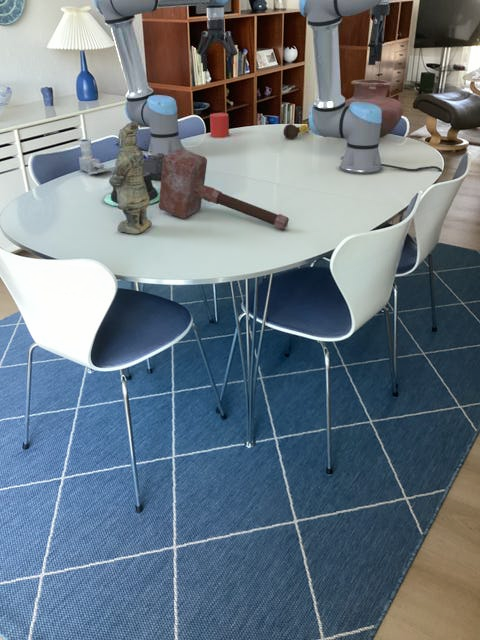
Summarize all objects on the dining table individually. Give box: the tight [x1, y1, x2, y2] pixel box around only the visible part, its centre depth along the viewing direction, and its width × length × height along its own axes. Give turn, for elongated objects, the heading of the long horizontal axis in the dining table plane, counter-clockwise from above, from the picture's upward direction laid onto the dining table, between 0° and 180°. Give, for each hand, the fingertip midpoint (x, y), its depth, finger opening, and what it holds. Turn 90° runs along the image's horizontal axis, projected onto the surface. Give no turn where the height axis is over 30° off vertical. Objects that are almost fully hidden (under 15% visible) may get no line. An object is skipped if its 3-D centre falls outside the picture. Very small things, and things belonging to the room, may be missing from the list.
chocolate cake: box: [103, 169, 160, 207], centre depth 186 cm, size 15×19×20 cm
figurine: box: [282, 120, 312, 140], centre depth 263 cm, size 13×8×25 cm
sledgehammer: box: [158, 149, 290, 231], centre depth 163 cm, size 17×10×40 cm
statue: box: [108, 121, 153, 235], centre depth 154 cm, size 11×9×30 cm
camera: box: [78, 138, 115, 176], centre depth 211 cm, size 9×12×15 cm
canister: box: [209, 112, 230, 139], centre depth 265 cm, size 9×9×10 cm
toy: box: [142, 151, 165, 181], centre depth 205 cm, size 9×9×15 cm
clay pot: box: [345, 78, 404, 139], centre depth 247 cm, size 30×30×25 cm
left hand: (217, 72), depth 253 cm, fingers open, 13 cm apart
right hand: (374, 63), depth 229 cm, fingers open, 13 cm apart
